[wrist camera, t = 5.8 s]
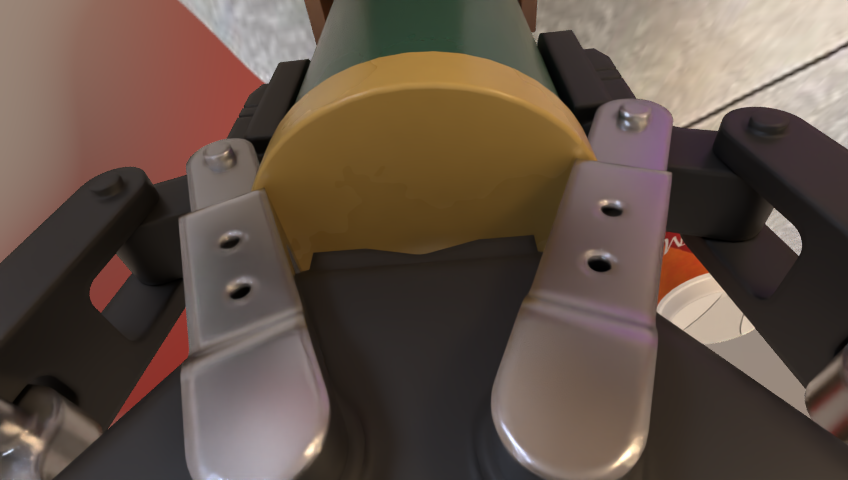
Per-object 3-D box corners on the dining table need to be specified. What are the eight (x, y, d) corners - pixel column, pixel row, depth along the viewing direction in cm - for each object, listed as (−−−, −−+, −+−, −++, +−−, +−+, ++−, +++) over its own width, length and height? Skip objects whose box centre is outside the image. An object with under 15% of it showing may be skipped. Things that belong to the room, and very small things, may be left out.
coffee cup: (620, 158, 43) (686, 285, 32) (710, 157, 42) (806, 284, 32) (597, 224, 48) (646, 350, 38) (676, 223, 48) (747, 349, 38)
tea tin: (363, 66, 20) (308, 353, 10) (328, -102, 16) (176, 109, 6) (501, 50, 20) (584, 334, 10) (502, -126, 15) (652, 58, 5)
